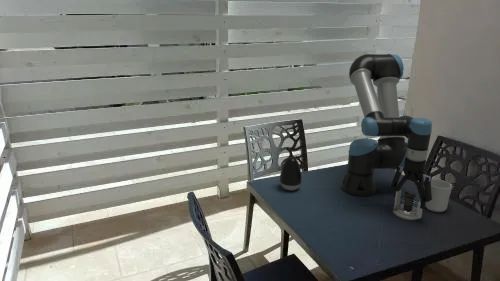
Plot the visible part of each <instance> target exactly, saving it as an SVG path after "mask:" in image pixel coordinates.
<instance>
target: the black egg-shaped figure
mask: <svg viewBox="0 0 500 281" xmlns="http://www.w3.org/2000/svg"><path fill="white" fill-rule="evenodd" d="M302 176H303V175H302V170H301V166H300V164H299V161H298V156H297V155H295V156H294V157H293V156H289V157H287V159H285V161H284V163H283V165H282V167H281V170H280V175H279V183H280V185H281V187H282V188H283V189H284V190H287V191H296V190H297V189H299V188H300V187H301V184H302V182H303V177H302Z"/></svg>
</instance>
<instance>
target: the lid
mask: <svg viewBox="0 0 500 281" xmlns="http://www.w3.org/2000/svg"><path fill="white" fill-rule="evenodd" d="M416 196H417V193H416V192H414V191H411V190H406V191H404V200H403V201H404V203H400V204H399V205H397V206H393V207H392V213H393V214H394V216H396V217H398V218H400V219H403V220H406V221H417V220H420V219H422V216H423V213H422V214H421V215H419V216H416V214H417V208H418V206H415V205H414V202H415V201H414V200H415V198H416Z"/></svg>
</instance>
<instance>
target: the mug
mask: <svg viewBox="0 0 500 281" xmlns="http://www.w3.org/2000/svg"><path fill="white" fill-rule="evenodd" d="M452 187H453V184H452V183H450V182H448V181H445V180H442V179H433V178H432V179H431V194H432V200H431V201H429V202H426V205H425V208H426V209H427V210H428V211H431V212H435V213H443V212H445V211H447V209H448V205H449V201H450V196H451V192H452V189H453V188H452Z"/></svg>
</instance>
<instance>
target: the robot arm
mask: <svg viewBox="0 0 500 281" xmlns="http://www.w3.org/2000/svg"><path fill="white" fill-rule="evenodd" d="M403 62H404V61H403V60H402V58H401V57H400V56H399V55H397V54H391V53H387V54H386V53H384V54H383V53H382V54H380V53H379V54H373V53H372V54H370V53H366V54H361V55H360V56H358V57H357V58H355V59H354V61H352V63H351V64H350V67H349V70H348V71H349V72H348V75H349V76H348V77H349V79H350V80H349V81H350V82H351V84H353V85H354V88H355V91H356V95H357V98H358V102H359V105H360V108H361V111H362V114H363V117H364V118H362V120H361V125H360V126H361V127H360V128H361V133H362V135H364V136H366V138H364V137H363V138H358V139H354V140H353V141H351V142H350V144H349V149H348V160H347V171H346V174H345V175H344V178H343V180H342V182H341V189H342V190H343V191H344V192H345V193H347V194H350V195H353V196H357V197H358V196H359V197H369V196H372V195H374V194H375V193H376V191H377V185H376V181H375V176H374V175H375V174H374V173H375V169H377V170H382V169H383V170H384V169H385V170H386V169H388V170H389V169H391V170H393V169H394V170H395V173H394V177H393V179H392V182H391V184H390V188H393V190H394V193H393V197H394V206H397V205H399V204H401V198H402V197H401V196H402V189H401V188H402V187H403V186H404V185H405V183H406V182H407V181H411V182H413V183H414V184H415V186H416V188H417V193H418V195H419V198H420V200H418V202H417V203H418V204H417V214H416V216H419V215H421V214H422V215H423V211H424V210H423V209H425V208H426V207H425V205H426V202H429V201H431V200H432V194H431V179H433V178H432V176H431V175H427V174H426V173H425V169H426V165H427V157H428V152H429V146H430V141H431V134H432V127H433V123H432V121H431V120H430V119H427V118H425V117H412V116H410V115H407V114H402V115H400V111H399V110H400V109H399V108H400V107H399V98H398V91H397V90H398V88H397V85H398V84H399V83H400V80H401V79H402V77H403V75H404V69H405V68H404V63H403ZM374 86H375V87H376V90H375V87H374ZM376 92H377V94H376ZM367 137H379V138H378V139H377V140H376V139H373V138H367ZM406 139H407V142H406ZM402 173H404V175H403V176H402V178H401V175H402ZM400 178H401V179H400ZM399 180H400V181H399ZM394 206H393V207H394Z"/></svg>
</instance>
